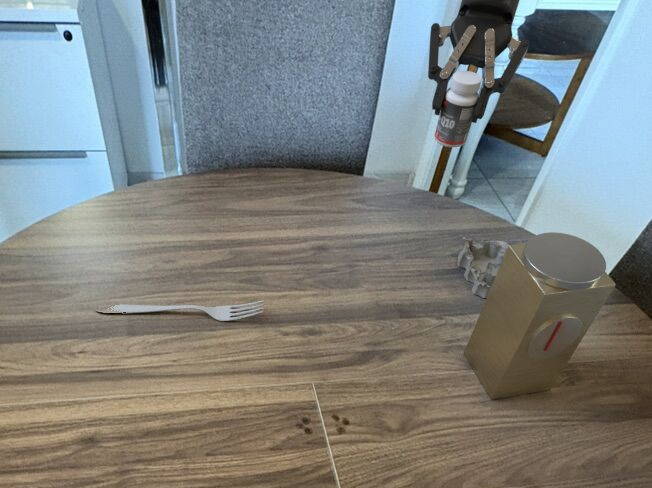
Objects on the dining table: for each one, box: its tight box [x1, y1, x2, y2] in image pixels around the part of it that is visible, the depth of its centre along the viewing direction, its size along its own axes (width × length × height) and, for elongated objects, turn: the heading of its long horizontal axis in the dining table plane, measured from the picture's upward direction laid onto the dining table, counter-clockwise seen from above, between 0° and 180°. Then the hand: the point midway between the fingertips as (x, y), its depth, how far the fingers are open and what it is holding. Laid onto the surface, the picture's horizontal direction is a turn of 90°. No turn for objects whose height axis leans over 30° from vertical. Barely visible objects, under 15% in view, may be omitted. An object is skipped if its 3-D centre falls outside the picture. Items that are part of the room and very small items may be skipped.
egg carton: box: [456, 235, 510, 299], centre depth 94 cm, size 11×8×4 cm
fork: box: [108, 300, 265, 322], centre depth 87 cm, size 3×24×2 cm, turn 90°
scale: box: [463, 231, 617, 401], centre depth 77 cm, size 9×10×18 cm
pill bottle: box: [434, 70, 483, 148], centre depth 88 cm, size 5×5×8 cm
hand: (456, 116), depth 87 cm, fingers closed on pill bottle, 4 cm apart
